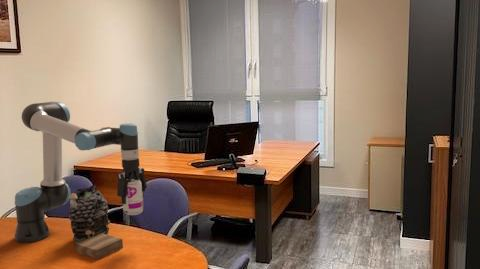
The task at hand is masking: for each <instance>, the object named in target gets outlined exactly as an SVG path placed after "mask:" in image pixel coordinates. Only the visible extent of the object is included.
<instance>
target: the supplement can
mask: <svg viewBox="0 0 480 269" xmlns="http://www.w3.org/2000/svg"><path fill="white" fill-rule="evenodd" d="M127 180H128V179H127ZM127 190H128V191H127V195H126V196H128V206H129V211H124V210H123V211H124V214H126V215H128V216H137V215H140V214H142V212H143V211H144V200H143V201H142V184H141V181H140V179H139V180H135V179H132V180H131V182H128V185H127Z"/></svg>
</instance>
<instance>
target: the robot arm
mask: <svg viewBox="0 0 480 269" xmlns="http://www.w3.org/2000/svg"><path fill="white" fill-rule="evenodd" d="M70 120H71V113H70V109H69V108H68V107H67V105H66V104H65V103H63V102H61V101H47V102H40V103H39V102H38V103H37V102H36V103H35V102H34V103H31V104H29V105H27V106H26V107H25V108H24V109H23V110H22V112H21V121H22V123H23V125H24V126H25V127H26V128H28V129H30V130H32V131H35V132H41V133H42V159H43V160H42V161H43V162H42V164H43V166H42V170H43V172H42V173H43V179H42V180H41V181H40V183H39V184H40V185H39V186H40V187H39V186H30V187H26V188H24V189H21V190H19V191H18V192H16V194H15V196H14V205H15V213H16V214H15V215H16V227H15V228H16V229H15V233H14V241H15V242H16V243H21V244H22V243H24V244H25V243H33V242H38V241H41V240H44V239H46V238H47V237H49V235H50V228H49V226H48V224H47V223H46V220H45V214H44V213H45V212H47V211H50V210H53V209H56V208H60V207H62V206H64V205H66V204H67V203H68V202H70V199H69V196H70V195H71V194H72V193H71V188H70V186H69V184H68V183H66V180H65V179H64V178H63V144H62V143H63V140H65V141H67V142H69V143H72V144H75V147H76V148H77V149H78V150H79V151H82V152H83V151H84V152H85V151H90V150H93V149H97V148H102V147H106V146H112V145H115V146H116V145H118V146H120V153H121V167H122V169H123V171H122V172H121V173H118V174H117V180H118V181H117V192H116V195H117V197H120V198H121V204H122V211H129V206H128V196H126V195H127V191H128V190H127V185H128V182H131V180H132V179H135V180H139V179H140V181H141V184H142V201H143V202H144V196H145V194H144V192H146V189H147V188H148V186H147V182H146V177H145V168H142V167H140V158H139V157H140V154H139V153H140V151H139V132H138V126H137V124H136V123H132V122H131V123H121V124H120V125H119V127H110V126H107V127H101V128H100V129H96V130H91V129H90V130H89V129H87V128H84V127H81V126H78V125H76V124H72V123H70ZM127 179H128V180H127Z"/></svg>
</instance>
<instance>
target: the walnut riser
mask: <svg viewBox="0 0 480 269" xmlns="http://www.w3.org/2000/svg"><path fill="white" fill-rule="evenodd" d="M123 243H124V242H123V238H120V237H118V236H113V235H109V234H102V233H101V234H98V235H96V236H94V237H91V238H89V239H86V240H84V241H81V242H79V243H76V242H75V252H76V253H77V254H80V255H83V256H87V257H89V258H93V259H95V260H99V259H101V258H104V257H106V256H108V255H110V254H112V253H114V252H116V251H118V250H120V249H122V248H124V244H123Z"/></svg>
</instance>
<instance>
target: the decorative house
mask: <svg viewBox="0 0 480 269" xmlns="http://www.w3.org/2000/svg"><path fill="white" fill-rule="evenodd" d="M96 187H97V186H96V185H95V184H92V185H91V186H90V187H87V188H84V189H83V188H82V189H81V188H79V189H77V190H76V193H75V192H72V193H71V195H70V196H69V204H70V206H69V211H68V215H69V216H68V218H69V221H70V227H71V230H72V234H73V242H74V243H75V244H76V243H79V242H81V241H84V240H86V239H89V238H91V237H94V236H96V235H98V234H101V233H102V234H106V235H108V233H109V231H110V227H109V225H110V224H111V220H109V218H108V216H109V215H108V212H109V211H108V210H109V206H108V201H107V199H106V198H105V196H104V195H103V194H102V193H101V192H100V191H99V190H97V189H96Z"/></svg>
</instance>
